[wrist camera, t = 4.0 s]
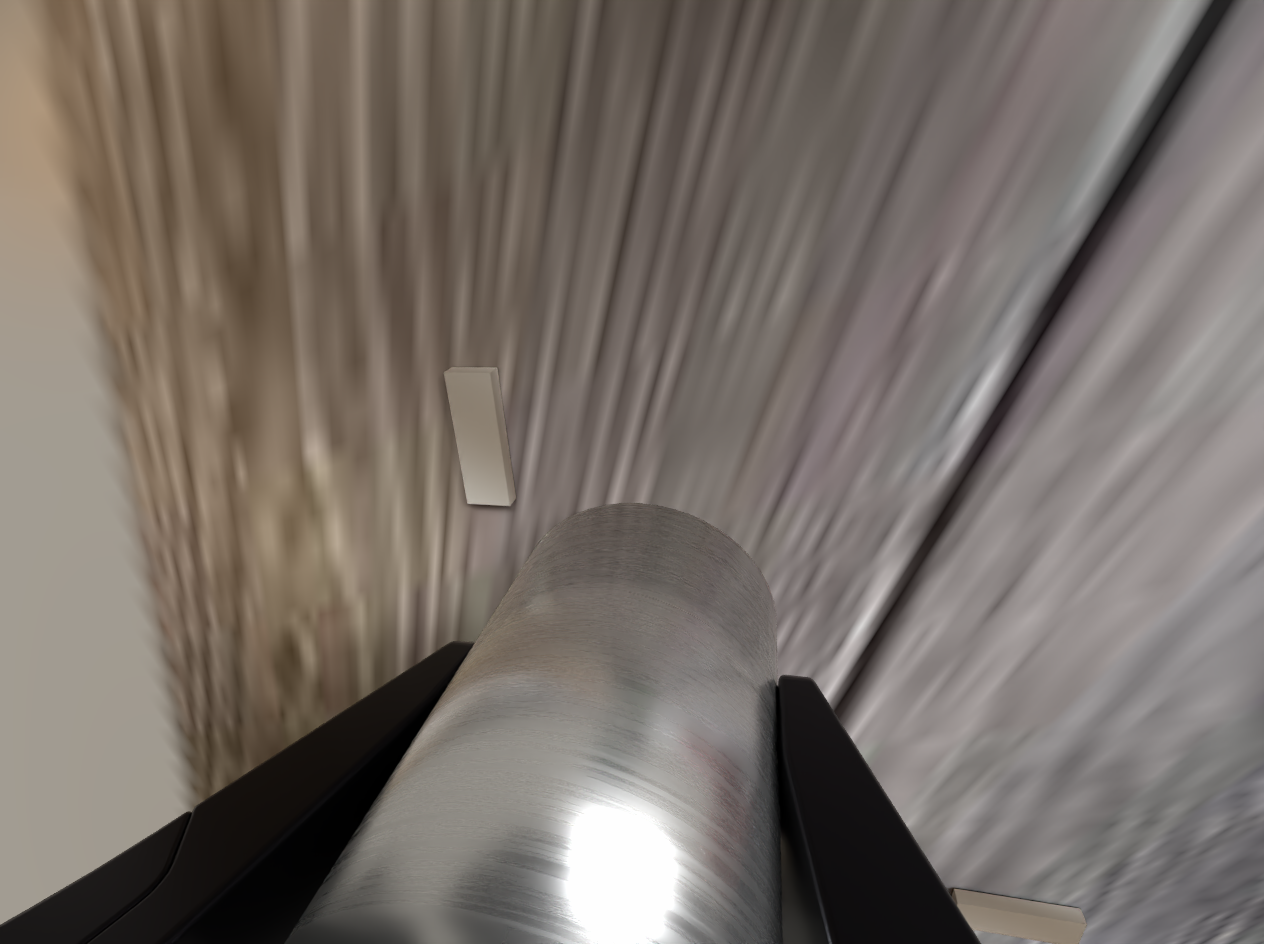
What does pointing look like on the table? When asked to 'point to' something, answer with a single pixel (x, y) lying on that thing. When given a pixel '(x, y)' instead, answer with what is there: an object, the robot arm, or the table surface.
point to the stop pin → (588, 759)
